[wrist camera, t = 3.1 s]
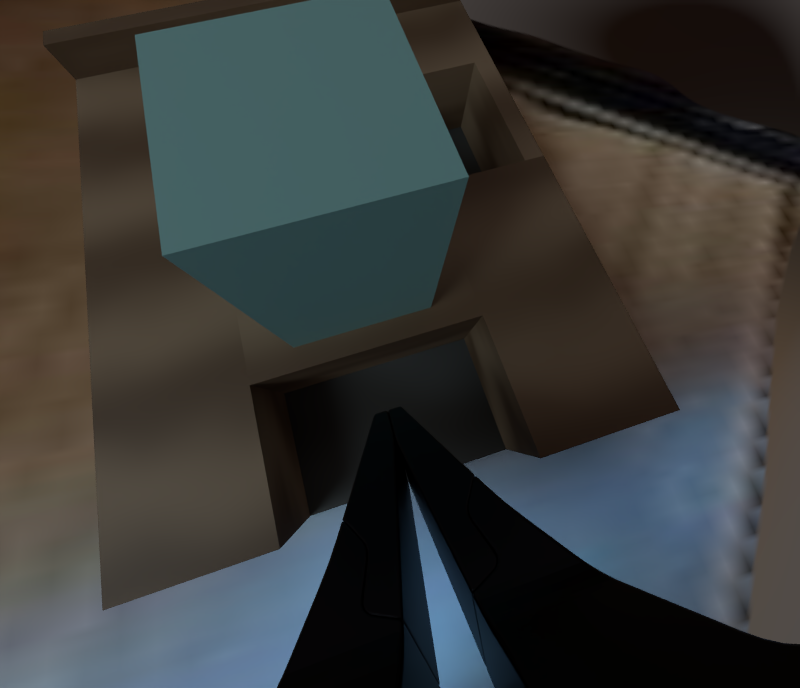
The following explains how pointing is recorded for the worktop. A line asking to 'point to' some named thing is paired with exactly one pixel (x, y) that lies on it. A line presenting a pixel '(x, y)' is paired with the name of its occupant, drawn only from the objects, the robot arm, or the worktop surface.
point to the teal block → (301, 164)
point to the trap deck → (337, 355)
